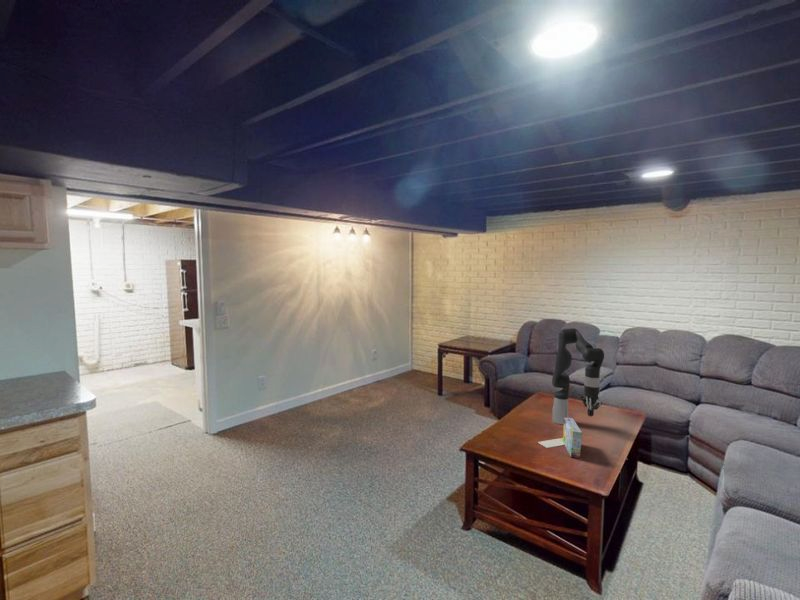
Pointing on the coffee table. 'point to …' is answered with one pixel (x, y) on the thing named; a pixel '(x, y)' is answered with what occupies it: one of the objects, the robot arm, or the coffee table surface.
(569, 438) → the snack box
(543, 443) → the mat
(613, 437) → the coffee table surface
